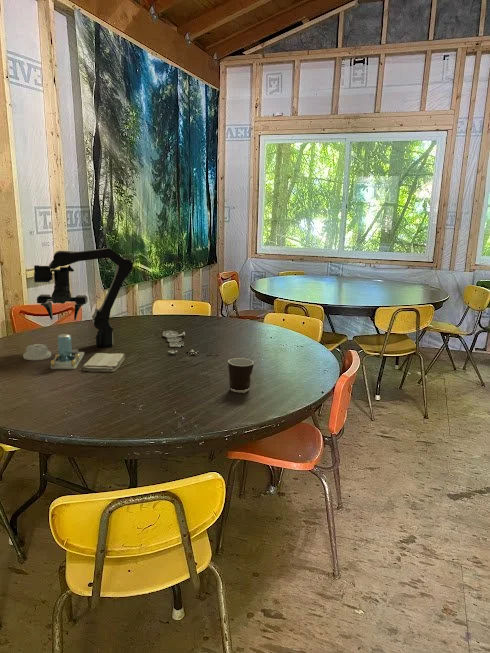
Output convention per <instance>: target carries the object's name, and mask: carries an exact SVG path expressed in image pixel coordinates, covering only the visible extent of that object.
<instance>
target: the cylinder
mask: <svg viewBox="0 0 490 653" xmlns="http://www.w3.org/2000/svg"><path fill="white" fill-rule="evenodd" d="M72 347H73V346H72V334H70V333H69V334H68V333H62V334H61V333H60V334H59V335H58V336H57V350H58V351H57V352H58V354H59V361H71V360H72V349H73V348H72Z"/></svg>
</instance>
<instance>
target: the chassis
mask: <svg viewBox="0 0 490 653" xmlns="http://www.w3.org/2000/svg"><path fill="white" fill-rule="evenodd" d="M84 356H85V351H79V349H77V348H76V349H74V348H72V360H71V361H59V353H58V354H55V358H54V359H51V360H50V369H52V370H75V369H76V368H78V365H79V364H80V363H81V360H82V359H83V357H84Z"/></svg>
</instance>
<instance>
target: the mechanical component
mask: <svg viewBox="0 0 490 653" xmlns="http://www.w3.org/2000/svg"><path fill="white" fill-rule="evenodd" d="M25 349H26V352H24V353H23V355H22V356H23V359H24V360H27V361H41V360H47V359H49V358H51V357H52V352H51V351H50V350H48V345H46V344H42V343H41V344H35V343H34V344H30V345H27V347H26V348H25Z"/></svg>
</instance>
